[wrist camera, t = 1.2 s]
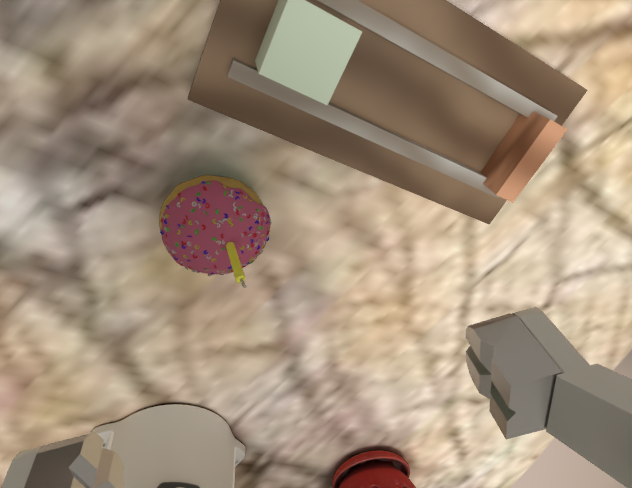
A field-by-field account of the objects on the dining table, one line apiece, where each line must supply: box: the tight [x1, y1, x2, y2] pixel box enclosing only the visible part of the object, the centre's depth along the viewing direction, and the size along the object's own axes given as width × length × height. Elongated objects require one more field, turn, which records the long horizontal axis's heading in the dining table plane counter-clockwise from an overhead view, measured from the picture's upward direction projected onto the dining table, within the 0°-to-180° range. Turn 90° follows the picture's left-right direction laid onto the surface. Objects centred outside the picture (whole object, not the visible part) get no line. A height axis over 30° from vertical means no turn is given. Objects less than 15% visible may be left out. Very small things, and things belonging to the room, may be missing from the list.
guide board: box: [188, 0, 587, 224], centre depth 34 cm, size 14×30×5 cm, turn 64°
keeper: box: [255, 0, 362, 105], centre depth 30 cm, size 5×5×4 cm
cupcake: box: [159, 175, 271, 288], centre depth 34 cm, size 9×8×12 cm
